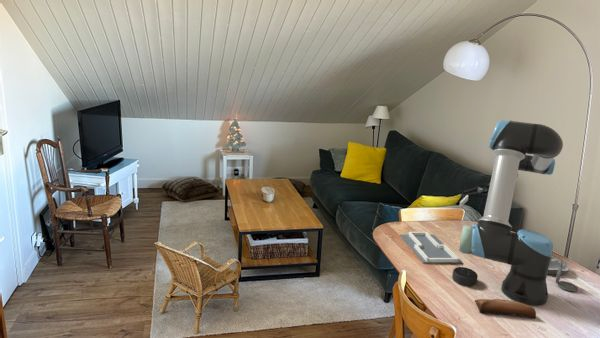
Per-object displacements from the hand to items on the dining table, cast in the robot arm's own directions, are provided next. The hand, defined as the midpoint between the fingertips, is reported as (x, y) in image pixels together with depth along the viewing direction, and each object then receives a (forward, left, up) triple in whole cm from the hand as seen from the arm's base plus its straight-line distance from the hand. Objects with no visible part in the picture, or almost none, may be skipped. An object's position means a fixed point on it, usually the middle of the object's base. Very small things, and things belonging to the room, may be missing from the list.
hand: (474, 210), depth 193 cm
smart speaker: (-29, +17, -18) cm, 38 cm away
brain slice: (-17, -23, -18) cm, 34 cm away
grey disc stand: (-34, -21, -18) cm, 44 cm away
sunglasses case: (-49, +13, -18) cm, 54 cm away
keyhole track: (-1, +19, -18) cm, 26 cm away
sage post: (-3, +3, -18) cm, 18 cm away
